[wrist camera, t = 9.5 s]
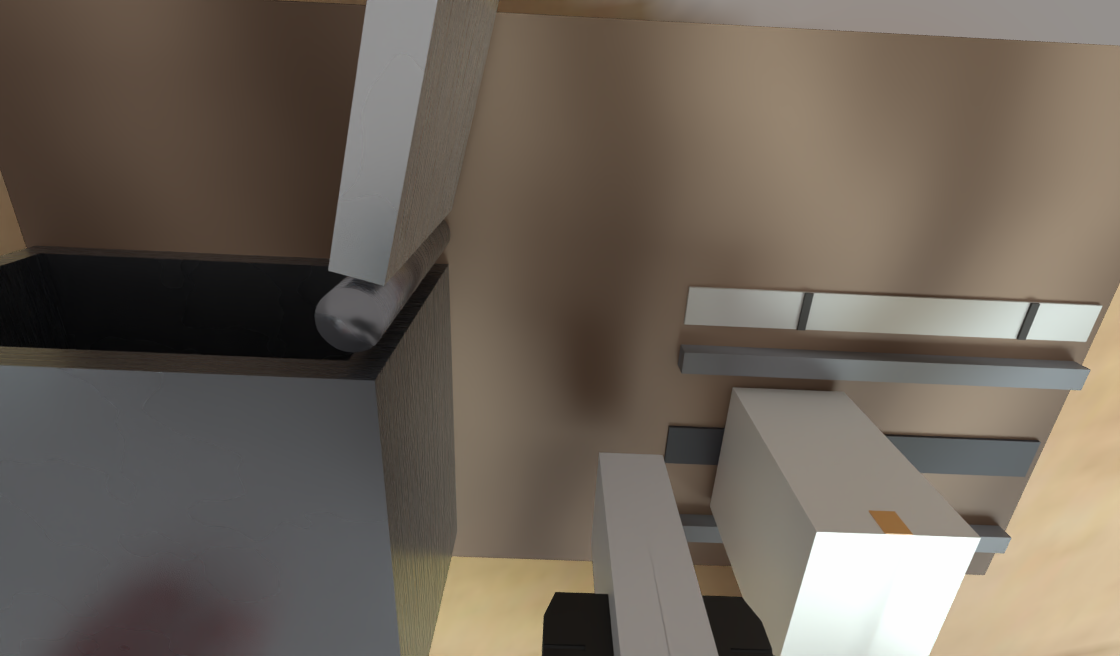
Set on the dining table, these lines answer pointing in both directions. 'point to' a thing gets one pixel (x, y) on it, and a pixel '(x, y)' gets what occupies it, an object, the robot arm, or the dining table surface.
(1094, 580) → the dining table surface
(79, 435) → the open box
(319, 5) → the console
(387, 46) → the door
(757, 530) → the fader knob
